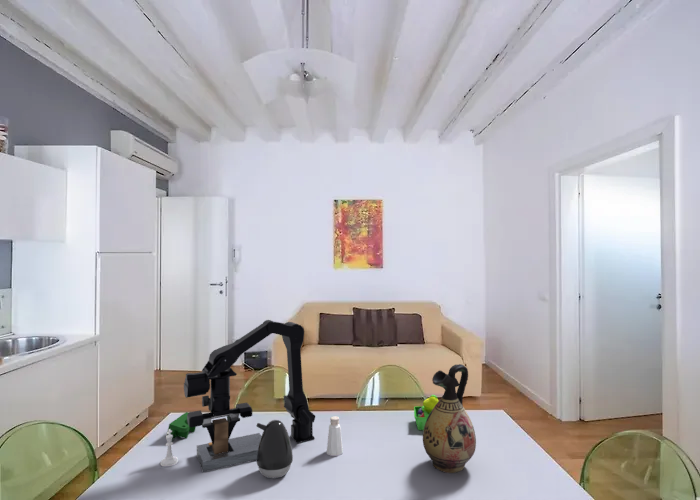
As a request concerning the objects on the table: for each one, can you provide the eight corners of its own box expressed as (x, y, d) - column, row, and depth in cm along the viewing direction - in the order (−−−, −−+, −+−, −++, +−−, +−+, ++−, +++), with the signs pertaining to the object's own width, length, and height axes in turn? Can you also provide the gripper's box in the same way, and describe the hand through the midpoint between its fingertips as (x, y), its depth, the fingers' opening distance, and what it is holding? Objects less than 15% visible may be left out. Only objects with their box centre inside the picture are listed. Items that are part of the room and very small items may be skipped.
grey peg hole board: (259, 441, 141) (259, 432, 141) (270, 456, 131) (270, 446, 131) (196, 455, 132) (196, 444, 132) (202, 472, 121) (202, 460, 121)
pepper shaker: (346, 450, 135) (345, 416, 135) (338, 457, 130) (338, 421, 130) (331, 447, 137) (331, 413, 137) (323, 454, 132) (323, 419, 133)
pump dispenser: (260, 464, 126) (260, 413, 126) (295, 465, 126) (295, 414, 126) (251, 483, 116) (251, 427, 116) (289, 483, 115) (289, 427, 116)
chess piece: (181, 460, 129) (181, 427, 129) (169, 467, 124) (170, 433, 124) (168, 457, 130) (168, 425, 131) (156, 465, 126) (156, 431, 126)
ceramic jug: (446, 484, 114) (445, 374, 115) (412, 460, 128) (412, 362, 129) (492, 470, 122) (491, 366, 123) (455, 448, 136) (455, 355, 136)
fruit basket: (413, 419, 161) (413, 389, 161) (437, 420, 160) (437, 390, 160) (414, 431, 150) (414, 399, 150) (439, 432, 148) (439, 400, 149)
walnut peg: (225, 446, 132) (225, 417, 133) (228, 451, 129) (228, 422, 129) (212, 449, 130) (212, 420, 131) (214, 454, 127) (214, 424, 127)
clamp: (182, 452, 144) (182, 433, 140) (166, 447, 144) (166, 427, 141) (201, 426, 154) (201, 407, 151) (186, 421, 155) (186, 402, 152)
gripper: (243, 380, 141) (243, 427, 141) (184, 388, 133) (184, 438, 132) (252, 389, 132) (252, 439, 131) (189, 399, 123) (189, 453, 123)
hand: (220, 442), depth 130 cm, fingers closed on walnut peg, 4 cm apart
